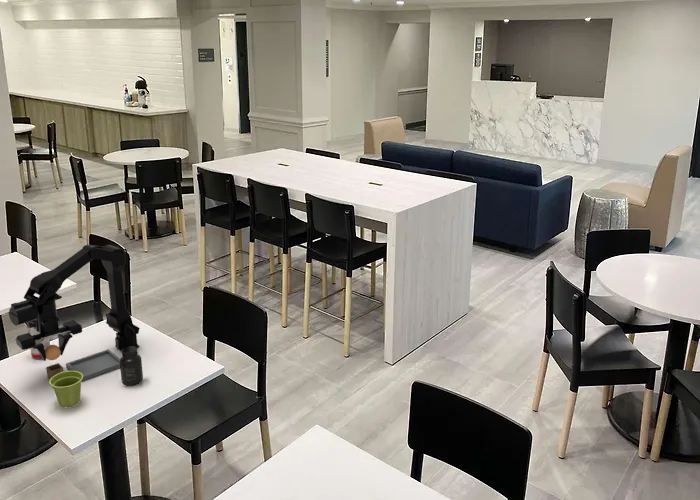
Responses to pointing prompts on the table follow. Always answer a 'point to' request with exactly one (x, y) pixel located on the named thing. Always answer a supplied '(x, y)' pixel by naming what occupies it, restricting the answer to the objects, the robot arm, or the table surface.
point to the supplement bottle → (131, 366)
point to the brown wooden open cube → (54, 370)
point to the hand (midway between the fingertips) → (52, 357)
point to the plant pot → (67, 387)
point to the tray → (95, 364)
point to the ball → (52, 352)
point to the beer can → (44, 341)
